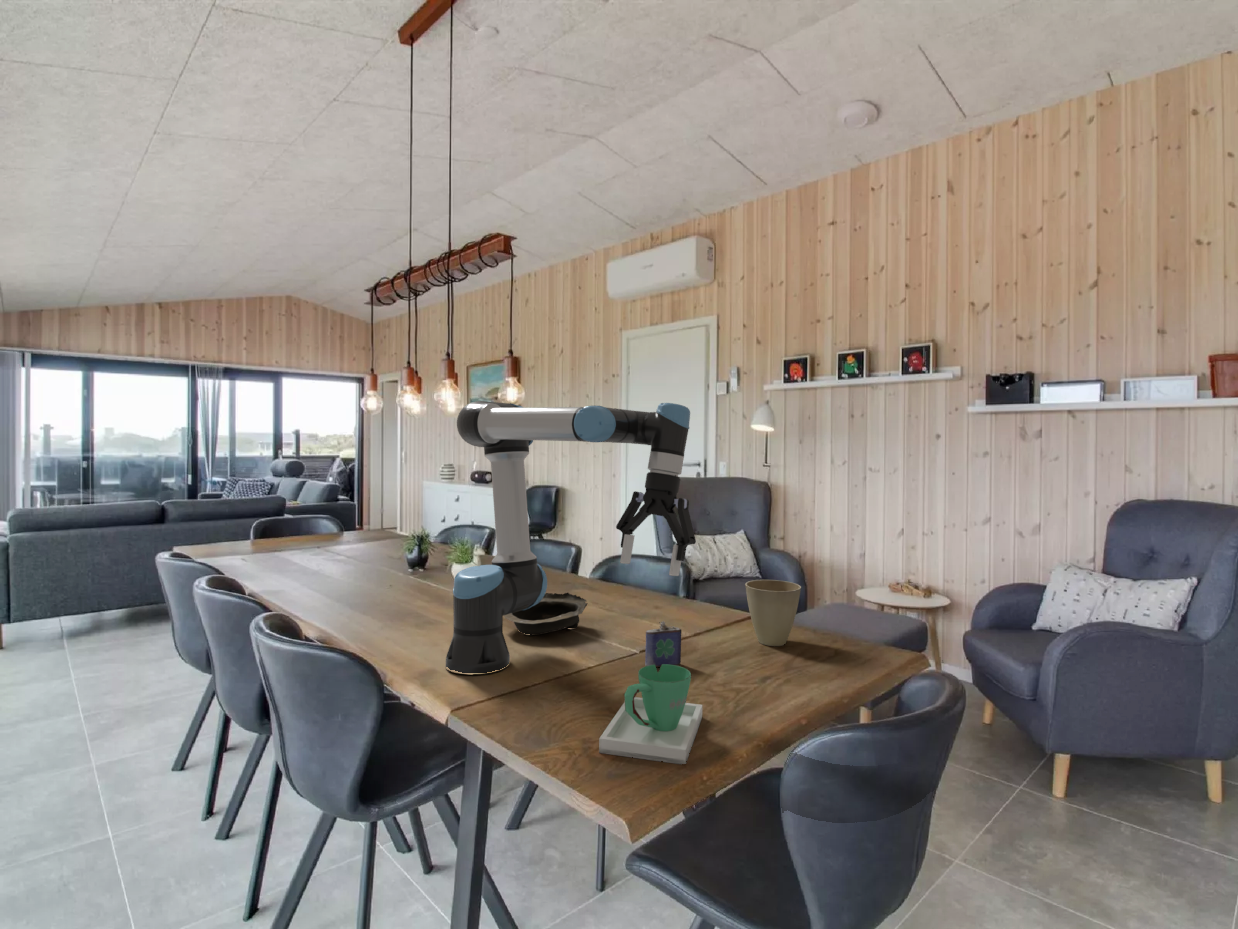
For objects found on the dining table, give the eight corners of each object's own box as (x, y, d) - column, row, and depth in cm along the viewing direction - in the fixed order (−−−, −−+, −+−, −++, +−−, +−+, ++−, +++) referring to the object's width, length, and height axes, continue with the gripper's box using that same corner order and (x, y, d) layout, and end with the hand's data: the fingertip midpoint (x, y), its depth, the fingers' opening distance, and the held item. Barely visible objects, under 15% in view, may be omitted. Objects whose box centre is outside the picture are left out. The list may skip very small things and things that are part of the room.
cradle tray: (599, 752, 110) (599, 738, 110) (628, 708, 129) (628, 696, 129) (685, 764, 106) (685, 749, 106) (702, 717, 125) (702, 704, 125)
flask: (647, 669, 153) (647, 624, 153) (643, 665, 156) (643, 621, 156) (682, 666, 156) (683, 622, 156) (677, 662, 159) (678, 619, 159)
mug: (661, 710, 126) (662, 660, 126) (701, 726, 119) (701, 673, 119) (607, 733, 116) (608, 678, 116) (647, 751, 109) (647, 693, 109)
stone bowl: (592, 620, 197) (593, 590, 196) (579, 651, 172) (580, 617, 172) (514, 616, 200) (514, 587, 199) (490, 646, 175) (490, 613, 174)
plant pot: (733, 638, 179) (734, 582, 179) (774, 632, 186) (775, 578, 186) (769, 653, 166) (769, 592, 166) (811, 646, 173) (812, 587, 173)
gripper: (721, 481, 136) (705, 581, 135) (631, 470, 152) (616, 559, 151) (702, 477, 130) (686, 580, 129) (610, 466, 146) (595, 558, 145)
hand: (648, 569), depth 140 cm, fingers open, 13 cm apart
